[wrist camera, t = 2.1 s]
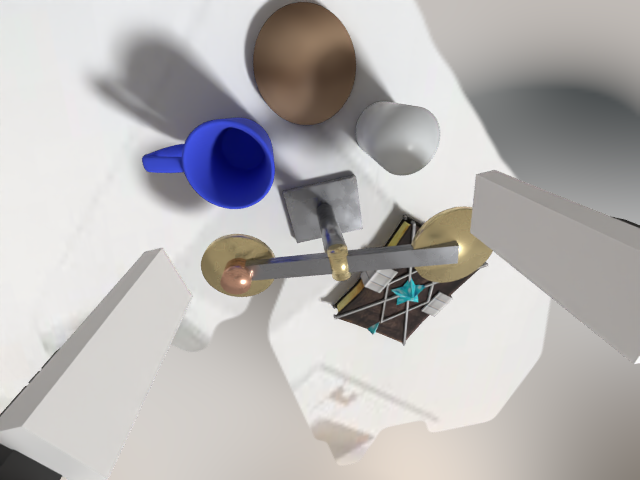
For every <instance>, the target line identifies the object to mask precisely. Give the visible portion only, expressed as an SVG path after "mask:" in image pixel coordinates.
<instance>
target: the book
mask: <svg viewBox="0 0 640 480" xmlns="http://www.w3.org/2000/svg"><path fill="white" fill-rule="evenodd" d="M421 226H422V225H421V224H419V223H417V222H416V221H414V220H412V219H410V218H409V217H407V216H406V215H403V220H402V221H401V223H400V224H399V226H398V227H397V229H396V230H395V232H394V233H393V235H392V236H391V238H390V239H389V241H388V242H387V244H386V245H385V246H384V247H388V246H398V245H408V244H411V243H412V241H413V238H414V236H415V235H416V233H417V232H418V230H419V229H420V228H421ZM486 266H488V264H487V263H486V262H485V263H484V264H483V265H482V266H481V267H479V268H478V269H477V270H476V271H474V272H473V273H471V274H470V275H468V276H466V277H464V278H461V279H459V280H456V281H452V282H444V283H440V282H432V281H429V280H427V279H425V278H423V277H422V276H421V275H420V274H419V273H418V272H417V270H416V269H415V268H414V267H409V268H397V269H385V270H373V271H362V272H361V274H360V276H361V277H360V279H359V280H358V281H357V283H356V284H355V285H354V286H353V287H352V288H351V289H350V290H349V291H348V292H347V293H346V294H345V295H344V296H343V297H342V298H341V299H340V300H339V301H338V302H337V303H336V304H335V305H333V308H334V309H335V308H337V309H338V314H337V315H334V319H341V320H344V321H347V322H350V323H353V324H356V325H359V326H361V327H364V328H367V329H368V330H369V331H370V332H371V333H372V334H374V333H375V332H377V333H380V334H383V335H385V336H387V337H390V338H392V339H394V340H397V341H399V342H402V344H403V346H405V342H406V340H407V339H408V338H409V336H410V335H411V334H412V333H413V332H414V331H415V330H416V328H417V327H418V326H419V325H420V324H421V323H422V322H423V321H424V320H425V319H426V318H427V317H428V316H429V315H432V316H434V317H435V316H436V315H437V314H438V313H439V312H440V311H441V310H442V309H443V308H444V307H445V306H446V305H447V304H448V303H449V302H450V301H451V300H452V299H453V298H452V297H451V294H452V293H453V292H455V291H456V290H457V289H458V288H459V287H460V286H461V285H462V284H463V283H464V282H465V281H467V280H468V279H469V278H470V277H471V276H472V275H473V274H474V273H476V272H477V271H478V270H479V269H480V268H483V267H486Z"/></svg>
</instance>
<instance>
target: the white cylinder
mask: <svg viewBox="0 0 640 480" xmlns="http://www.w3.org/2000/svg"><path fill="white" fill-rule="evenodd" d="M356 139H357V142H358V144H359V146H360V148H361V149H362V150H363V151H364V152H366V153H367V154H368V155H369V156H370V157H371V158H373V159H374V160H375V161H376V162H377V163H378V164H379V165H381V166H382V167H383V168H384V169H385V170H386V171H388V172H390V173H392V174H395V175H409V174H413V173H415V172H417V171H419V170H421V169H422V168H423V167H425V166H426V165H427V164H428V163H429V162H430V161H431V159H432V158H433V156H434V155H435V153H436V151H437V148H438V145H439V141H440V127H439V124H438V121H437V119H436V118H435V116H434V115H433V114H432V113H431V112H430V111H429V110H427V109H425V108H422V107H418V106H411V105H405V104H398V103H392V102H386V101H382V102H377V103H374V104H372V105H370V106H369V107H367V108H366V109H365V110H364V111H363V112H362V114H361V115H360V117H359V119H358V121H357V125H356Z"/></svg>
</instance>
